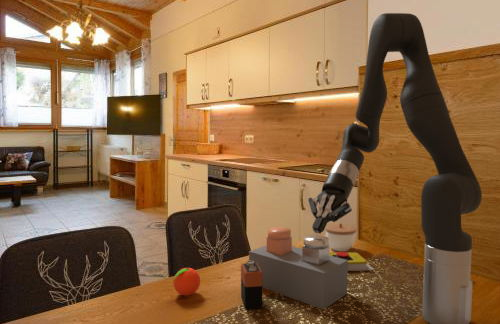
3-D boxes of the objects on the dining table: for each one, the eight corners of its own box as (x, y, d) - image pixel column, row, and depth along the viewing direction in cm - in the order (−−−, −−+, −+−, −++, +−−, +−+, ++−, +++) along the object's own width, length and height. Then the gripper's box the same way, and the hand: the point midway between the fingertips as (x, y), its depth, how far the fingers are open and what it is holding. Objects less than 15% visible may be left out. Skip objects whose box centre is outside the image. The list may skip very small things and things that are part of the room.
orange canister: (295, 261, 106) (295, 229, 105) (281, 267, 101) (281, 234, 101) (277, 256, 110) (277, 225, 110) (263, 261, 106) (263, 230, 105)
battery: (257, 296, 97) (257, 258, 96) (262, 308, 90) (263, 268, 90) (240, 297, 96) (240, 259, 95) (245, 310, 90) (245, 269, 89)
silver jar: (332, 271, 98) (333, 237, 97) (319, 278, 93) (320, 243, 93) (311, 265, 102) (312, 233, 102) (298, 272, 98) (298, 238, 97)
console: (347, 293, 99) (347, 260, 98) (323, 309, 90) (323, 273, 89) (275, 270, 115) (275, 242, 114) (249, 282, 106) (249, 251, 105)
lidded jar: (339, 255, 129) (339, 228, 128) (319, 247, 139) (319, 222, 138) (361, 250, 134) (362, 224, 134) (341, 242, 144) (341, 218, 143)
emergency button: (318, 249, 123) (363, 248, 124) (318, 262, 123) (362, 261, 125) (327, 259, 114) (374, 257, 115) (326, 273, 114) (374, 271, 116)
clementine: (181, 304, 93) (181, 276, 92) (164, 296, 97) (164, 269, 97) (205, 293, 99) (205, 267, 98) (188, 286, 103) (188, 261, 103)
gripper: (315, 169, 107) (289, 219, 99) (358, 173, 99) (334, 228, 90) (325, 186, 112) (300, 234, 104) (367, 190, 103) (344, 244, 95)
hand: (316, 231), depth 97 cm, fingers closed
